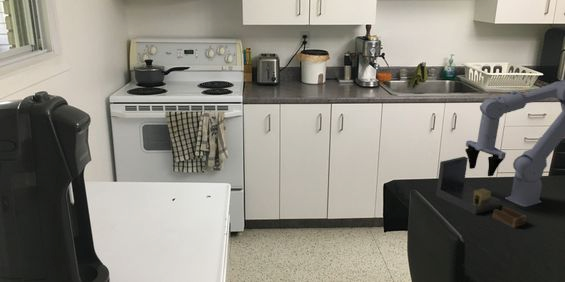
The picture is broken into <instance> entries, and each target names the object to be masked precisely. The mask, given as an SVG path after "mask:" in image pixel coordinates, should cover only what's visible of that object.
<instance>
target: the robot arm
mask: <svg viewBox="0 0 565 282" xmlns="http://www.w3.org/2000/svg"><path fill="white" fill-rule="evenodd" d="M550 98H553V99H557V100H558V102H559V103H560V107H561V112H560V113H559V114H558V116H557V117H556V118H555V119H554V121H553V122H552V123H551V124H550V126H549V127H548V128H547V130H546V131H545V132H544V133H543V134H542V136H541V137H539V139H538V140H537V142H536V143H535V144H534V146H533V147H532V148H531V149H528V150H525V151H523V153H522V154H521V155H519V156H517V157H516V158H515V159H514V161H513V163H512V167H513V169H514V171H515V173H514V177H513V183H512V188H511V193H510V194H511V195H510V196H506V197H505V198H504V199H505V200H507V201H510V202H512V203H514V204H516V205H519V206H521V207H523V208H527V207H530V206H533V205H537V204H541V203H542V200H540V197H541V191H542V187H543V183H542V182H543V181H542V179H541V178H542V177H543V174H544V170H545V169H546V168H547V165H548V164H547V163H548V162H547V159H548V157H549V156H550V155H551V154H552V152H553V151H554V150H555V148H557V146H559V144H560V142H562V140H563V139H564V138H565V79H563V80H559V81H554V82H552V83H550V84H548V85H545V86H542V87H539V88H536V89H533V90H531V91H527V92H524V93H522V92H520V91H515V90H512V91H510V93H507V94H506V95H502V96H500V95H497V96H496V97H495V99H494V98H490V97H489V98H486V99H484V101H483V102H482V103H481V104H480V105H479V110H480V112H481V118H480V122H479V123H480V124H479V127H478V135H477V140H476V141H474V140H466V143H465V147H467V148H465V150H464V151H465V153H466V156H467V158H468V160H467V161H468V164H469V165H468V167H469V169H470V170H472V169H476V165H477V161H478V157H479V154H480V152H483V153H485V154H489V155H491V156H488V157H487V160H488V170H487V176H488V177H493V176H494V175H495V172H496V170H497V169H498V167H499V166H500V164H501V163H502V162H503V161H504V160H505V158H506V154H507V153H506V152H504V151H502V150H501V149H498V148H497V147H495V146H496V144H497V143H496V142H497V136H498V130H499V127H500V126H499V125H500V118H502V117H503V116H504V115H506V114H508V113H511V112H515V111H519V110H522V109H524V108H525V107H526V105H527V104H530V103H533V102H534V103H535V102H538V101H542V100H546V99H550Z"/></svg>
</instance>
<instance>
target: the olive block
mask: <svg viewBox="0 0 565 282" xmlns="http://www.w3.org/2000/svg"><path fill="white" fill-rule="evenodd" d="M491 194H492V191H490V190H488V189H486V188H483V187H482V188H480V189H479V188H478V189H477V190H475V191H474V196H473V200H477V199H478V201H479V202H480V203H482V202H486V201H489V200H490V195H491ZM491 196H492V195H491Z"/></svg>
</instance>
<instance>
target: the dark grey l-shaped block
mask: <svg viewBox="0 0 565 282" xmlns="http://www.w3.org/2000/svg"><path fill="white" fill-rule="evenodd" d="M468 161H469V160H468V156H467V157H466V156H461V157H457V158H456V157H455V158H451V159H447V160H441V161H440V163H439V169H438V170H439V171H438V178H437V179H438V180H437V186H436V187H437V188H436V193H435V195H436V197H438V198H440V199H442V200H443V201H447V202H449V203H450V204H452V205H455V206H457V207H459V208H460V209H462V210H465V211H467V212H469V213H471V214H473V215H478V214H482V213H485V212H488V211H492V210H494V209H499V208H500V207H501V206H500V205H501V199H500V198H498V197H495V196H493V195H490V200H489V201H486V202H482V203H480V202H479V201H478V199H477V200H473V196H474V191H475V190H478V189H477V188H475V187H472V186H471V185H468V184H466V183H465V180H466V179H465V178H466V174H467V172H466V171H467V167H468Z"/></svg>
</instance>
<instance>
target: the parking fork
mask: <svg viewBox="0 0 565 282" xmlns="http://www.w3.org/2000/svg"><path fill="white" fill-rule="evenodd" d="M492 210H493V211H492V217H491V218H493V219H495V220H497V221H498V222H501V223H503V224H505V225H507V226H510V227H511V228H513V229H514V228H518V227H521V226H524V225H526V221H527V215H525V214H523V213H522V212H521V213H520V212H519V211H517V210H514V209H512V208H509V207H508V206H501V210H500V209H499V208H495V209H492Z"/></svg>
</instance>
